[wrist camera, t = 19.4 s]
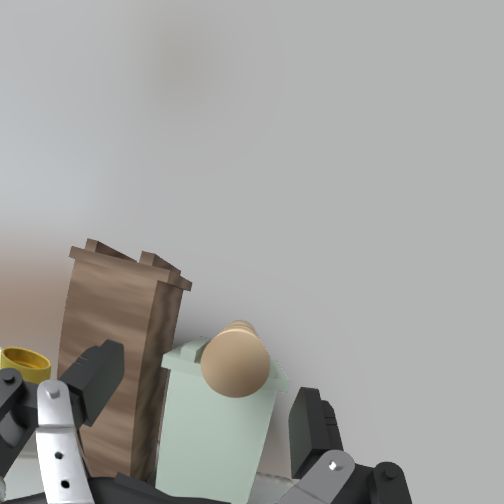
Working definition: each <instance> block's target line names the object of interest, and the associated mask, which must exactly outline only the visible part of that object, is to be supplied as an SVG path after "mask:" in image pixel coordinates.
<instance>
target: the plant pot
mask: <svg viewBox="0 0 504 504" xmlns="http://www.w3.org/2000/svg"><path fill="white" fill-rule="evenodd" d="M3 368H14V369H17V370H18V371H19V372H20V373H21V374H22V377H23V380H24V381H27V382H31V383H35V384H40V383H42V382H43V381H45V380H49V379H50V374H51V363H50V362H49V360H48V359H46V358H45V357H44V356H42V355H40V354H38V353H35V352H33V351H30V350H27V349H23V348H19V347H6V348H3V349H2V351H1V369H3Z"/></svg>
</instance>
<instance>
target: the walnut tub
mask: <svg viewBox="0 0 504 504" xmlns="http://www.w3.org/2000/svg"><path fill="white" fill-rule="evenodd" d="M69 257H71V258H74V259H75V263H74V267H73V271H72V276H71V281H70V285H69V290H68V295H67V300H66V306H65V312H64V318H63V324H62V331H61V340H60V349H59V358H58V371H57V380H58V379H59V378H60V376H61V375H62V374H63V373H64V372H65V371H66V370H67V369H68V368H69V367H70V366H71V365H72V364H73V363H74V362H75V361H76V360H77V359H78V358H79V357H80V355H81V354H82V353H83V352H84V351H85V350H86V349H88V348H90V347H93V346H95V345H96V346H99V347H100V346H101V345H102V344H103V343H104V342H105V341H106V340H107V339H110V340H113V341H116V342H119V343H122V344H123V345H124V364H125V372H124V377H123V379H122V381H121V383H120V384H119V386H118V387H117V389H116V390H115V392H114V393H113V395H112V396H111V398H110V399H109V401H108V402H107V404H106V405H105V407H104V409H103V410H102V412H101V413H100V415H99V416H98V418H97V419H96V421H95V422H94V424H93V425H92V427H88V426H86V425H84V424H82V426H81V427H80V429H79V430H80V433H81V438H82V442H83V446H84V450H85V453H86V457H87V461H88V464H89V467H90V470H91V473H92V475H93V477H114V478H115V477H116V475H117V473H118V472H120V473H122V474H125V475H127V476H130V477H133V478H135V479H138V480H141V481H144V482H146V481H147V479H148V477H149V476H150V474H151V472H152V471H153V469H154V467H155V458H156V449H157V440H158V432H159V425H160V417H161V410H162V404H163V397H164V390H165V384H166V378H167V372H168V368H164V367H161V365H162V359H163V355H164V354H166V353H168V352H170V351H171V349H172V344H173V339H174V333H175V328H176V323H177V318H178V313H179V308H180V304H181V299H182V294H183V290H187V291H191V286H192V282H190V281H188V280H186V279H185V278H183V277H181V276H180V274H181V271H180V270H178V269H177V268H175V267H174V266H172V265H171V264H169V263H168V262H166V261H164V260H163V259H162V258H160V257H159V256H157V255H156V254H153V253H149V252H144V251H142V254H141V257H140V261H139V263H137V261H135V260H134V259H132V258H130V257H128V256H126V255H124V254H122V253H120V252H118V251H116V250H114V249H112V248H110V247H108V246H106V245H104V244H103V243H101V242H99V241H96V240H92V239H87V242H86V246H85V249H81V248H77V247H74V246H72V247H71V251H70V254H69Z"/></svg>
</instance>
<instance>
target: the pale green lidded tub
mask: <svg viewBox="0 0 504 504" xmlns="http://www.w3.org/2000/svg"><path fill="white" fill-rule="evenodd" d="M210 342H211V338H207V337H202V336H200V337H199V338H197V339H195V340H193V341H192V342H187V343H185V344H183V345H181V346H179V347H177V348H175V349H174V350H172V351H170V352H168V353H166V354H164V355H163V359H162V365H161V367H164V368H168V369H171V374H170V381H169V386H168V392H167V399H166V406H165V412H164V419H163V426H162V434H161V441H160V449H159V457H158V466H157V476H156V486H155V488H156V489H158V490H160V491H162V492H164V493H166V494H168V495H170V496H176V497H201V498H207V499H212V500H218V501H224V502H230V503H231V504H247V502H248V499H249V495H250V492H251V489H252V485H253V482H254V478H255V475H256V471H257V468H258V464H259V460H260V457H261V453H262V450H263V446H264V442H265V438H266V434H267V430H268V426H269V422H270V418H271V414H272V410H273V406H274V402H275V397H276V393H277V392H284V393H287V392H288V388H289V384H290V380H289V379H288V378H287V376H286V374H285V373H284V371H283V370H282V368H281V367H280V365H279V364H278V362H277V361H276V360H273V359H271V357H270V356H269V359H270V372H269V376H268V378H267V380H266V382H265V384H264V385H263V386H262V387H261V388H260V389H259V390H258V391H257V392H255V393H253V394H251V395H249V396H246V397H242V398H231V397H226V396H223V395H221V394H219V393H217V392H215V391H214V390H213V389H211V387H210V386H209V385H208V384H207V383H206V381H205V379H204V378H203V375H202V372H201V357H202V354H203V351H204V349H205V348H206V346H207V345H208V344H209V343H210ZM266 351H267V350H266ZM267 353H268V352H267ZM268 355H269V354H268Z"/></svg>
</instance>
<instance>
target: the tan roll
mask: <svg viewBox="0 0 504 504" xmlns="http://www.w3.org/2000/svg"><path fill="white" fill-rule="evenodd" d="M201 372H202V375H203V378H204V379H205V381H206V383H207V384H208V385H209V386H210V387H211V389H213V390H214V391H215V392H217V393H219V394H221V395H223V396H226V397H231V398H242V397H246V396H249V395H251V394H253V393H255V392H257V391H258V390H259V389H260V388H261V387H262V386H263V385H264V384H265V382H266V380H267V378H268V376H269V372H270V359H269V355H268V353H267V351H266V349H265V347H264V345H263V343H262V342H261V340H260V338H259V337H258V335H257V333H256V331H255V329H254V328H253V326H252V325H251V324H249V323H248V322H246V321H242V320H237V321H234V322H232V323H230V324H229V325H228V326H227V327H226V328H225V329H224V330H223V331H222V332H221V333H219V334H218V335H217V336H216V337H215V338H214V339H213V340H212V341H211V342H210V343H209V344H208V345H207V346H206V348H205V349H204V351H203V354H202V357H201Z"/></svg>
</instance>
